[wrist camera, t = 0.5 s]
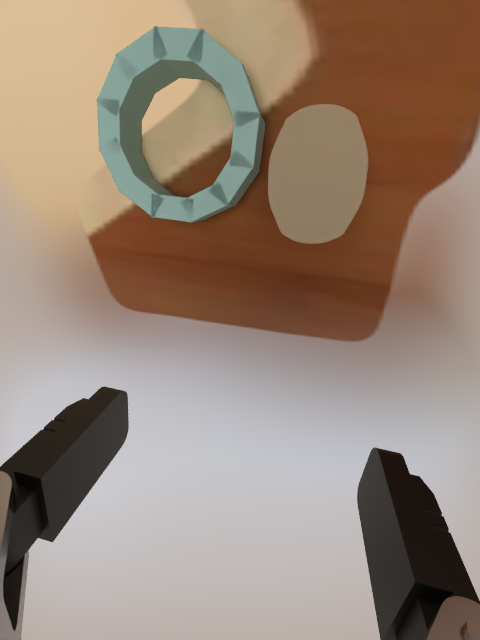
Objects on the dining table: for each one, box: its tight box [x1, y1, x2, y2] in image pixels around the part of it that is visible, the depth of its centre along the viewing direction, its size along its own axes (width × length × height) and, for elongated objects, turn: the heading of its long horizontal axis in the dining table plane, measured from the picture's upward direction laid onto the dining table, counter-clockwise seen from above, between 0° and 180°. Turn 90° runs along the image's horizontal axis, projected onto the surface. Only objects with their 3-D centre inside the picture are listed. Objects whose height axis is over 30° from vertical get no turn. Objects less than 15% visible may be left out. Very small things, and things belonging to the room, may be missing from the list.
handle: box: [268, 104, 368, 244], centre depth 23 cm, size 5×6×15 cm
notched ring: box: [97, 26, 266, 223], centre depth 28 cm, size 14×14×4 cm
